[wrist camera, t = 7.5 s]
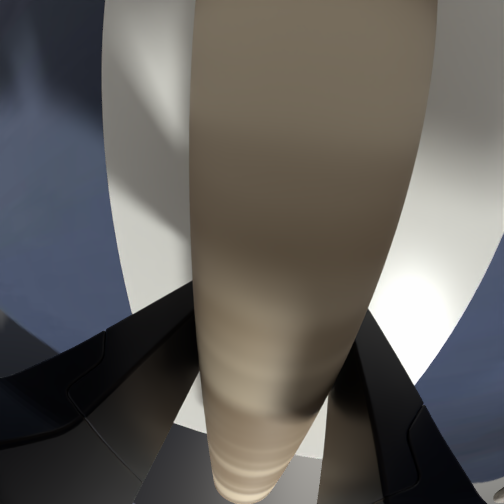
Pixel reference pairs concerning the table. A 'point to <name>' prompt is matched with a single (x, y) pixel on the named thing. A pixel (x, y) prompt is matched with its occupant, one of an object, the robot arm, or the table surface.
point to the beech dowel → (293, 205)
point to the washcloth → (499, 496)
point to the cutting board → (415, 206)
